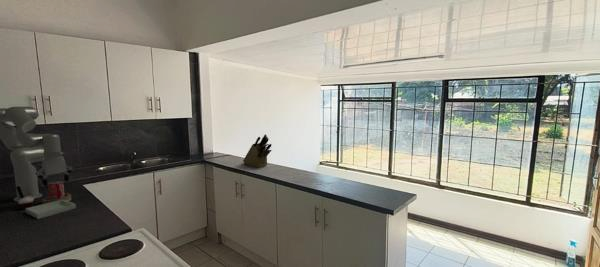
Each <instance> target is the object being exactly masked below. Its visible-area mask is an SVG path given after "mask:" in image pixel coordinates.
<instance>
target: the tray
mask: <svg viewBox="0 0 600 267" xmlns="http://www.w3.org/2000/svg"><path fill="white" fill-rule="evenodd" d="M76 209H77V204H76V203H74V202H72V201H66V200H59V201H54V202H50V203H46V204H38V205H36V206H35V205H33V206H32V207H30V208H26V209H25V213H26V214H27V215H29V216H31V217H33V218H35V219H37V220H39V219H42V218H46V217H50V216H53V215H57V214H61V213H65V212H68V211H72V210H76Z"/></svg>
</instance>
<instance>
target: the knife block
mask: <svg viewBox="0 0 600 267" xmlns="http://www.w3.org/2000/svg"><path fill="white" fill-rule="evenodd" d="M269 140H270V138H268V136H267V134H263V137H262V138H261V137H260V136H258V137H257V139H256V141H255V142H254V143H253V144H251V146H250V148H249V150H248V151H247V153H246V155H245V157H244V158H243V160H242V162H243V163H244V164H245V165H249V166H252V167H256V168H261V167H266V166H268V156H269V155H270V153H271V152H272V149H271V147H272V143H269V144H268V142H269Z"/></svg>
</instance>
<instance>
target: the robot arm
mask: <svg viewBox="0 0 600 267" xmlns="http://www.w3.org/2000/svg"><path fill="white" fill-rule="evenodd" d="M38 118H39V111H38V110H37V109H36V108H35V107H34V106H10V107H8V108H7V107H5V108H3V107H2V108H0V139H1V141H2V143H3V144H4V145H5V147H6V148H7V149H9V150H11V152H10V154H9V157H10V161H11V164H12V167H13V173H14V181H15V188H16V187H18V186H20V188H21V190H22V193H23V195H24V197H26V196H32V197H33V198H34V200H36V198H37V199H39V198H41V197H42V196H43V193H40V192H39V184H38V183H39V182H38V178H39V179H41V182H42V185H43V186H45V187H48V185H49V183H48V179H47V178H48V177H49V176H53V175H57V174H64V175H63V178H64V182H67V183H68V182H69V181H70V177H69V175H70V174H71V173H72V171H73V169H74V167H73V166H71V165H68V164H66V160H65V157H64V156H63V155H65V152H64V151H62V147H61V138H60V135H59V134H57V133H38V134H35V133H27V132H30V131H32V130H34V129H35V127H36V125H37V122H36V119H38ZM10 123H12V124H13V125H14V126H13V125H12V124H10ZM36 162H41V169H39V170H38V171H37V168H36V167H35V165H33V163H36ZM67 169H68V170H67ZM41 173H42V175H41ZM15 190H16V197H14V198H13V201H14V202H18V201H19V200H20V199H21V198H20V196H19V193H18V191H17V188H16V189H15Z"/></svg>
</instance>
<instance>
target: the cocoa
mask: <svg viewBox="0 0 600 267" xmlns="http://www.w3.org/2000/svg"><path fill="white" fill-rule="evenodd" d="M15 188H17V191H18V193H19V196H20V198H21V199H20V200H19V201H17V206H18V208H19V209H21V210H26V208H30V207H34V203H35V201H34V200H35V199H34V198H33V197H32V196H26V197H24V195H23V193H22V190H21V188H20V186H18V187H16V186H15ZM17 191H16V192H17Z"/></svg>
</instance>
